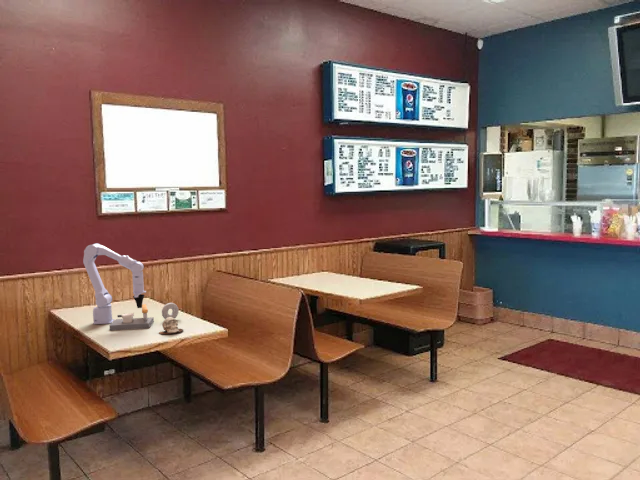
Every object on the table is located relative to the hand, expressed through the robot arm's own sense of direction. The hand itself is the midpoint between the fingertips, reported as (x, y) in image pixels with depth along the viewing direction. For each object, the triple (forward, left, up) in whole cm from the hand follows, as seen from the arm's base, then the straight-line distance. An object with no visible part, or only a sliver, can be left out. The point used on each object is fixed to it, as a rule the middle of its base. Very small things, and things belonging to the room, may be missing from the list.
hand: (139, 307), depth 306 cm
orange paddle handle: (+3, -4, 0) cm, 6 cm away
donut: (+17, -3, -8) cm, 19 cm away
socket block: (-2, -11, -7) cm, 13 cm away
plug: (-5, -11, -7) cm, 14 cm away
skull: (+21, -29, -8) cm, 36 cm away
